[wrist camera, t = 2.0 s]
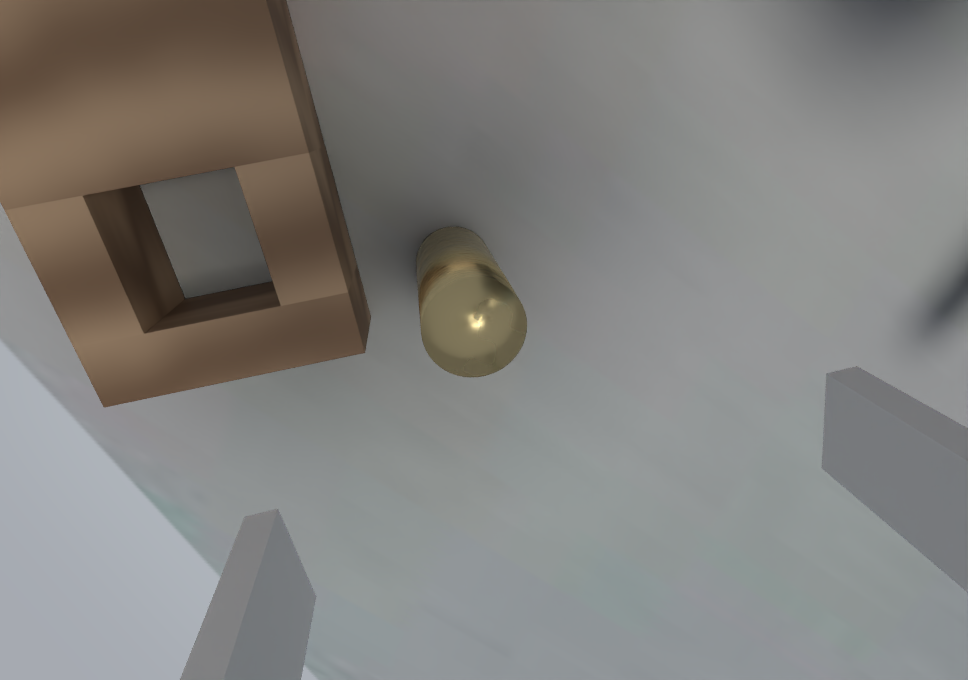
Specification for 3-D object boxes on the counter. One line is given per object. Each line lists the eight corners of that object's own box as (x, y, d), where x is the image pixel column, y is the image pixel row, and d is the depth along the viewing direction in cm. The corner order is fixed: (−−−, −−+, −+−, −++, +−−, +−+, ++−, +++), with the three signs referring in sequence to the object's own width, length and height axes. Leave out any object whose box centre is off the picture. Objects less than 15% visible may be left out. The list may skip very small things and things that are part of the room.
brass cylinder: (408, 234, 29) (410, 289, 20) (483, 219, 30) (518, 267, 20) (424, 305, 31) (433, 386, 22) (495, 291, 31) (533, 365, 22)
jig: (-52, -86, 22) (-202, -150, 17) (249, -134, 23) (201, -212, 17) (149, 362, 30) (92, 418, 25) (371, 316, 31) (363, 361, 25)
